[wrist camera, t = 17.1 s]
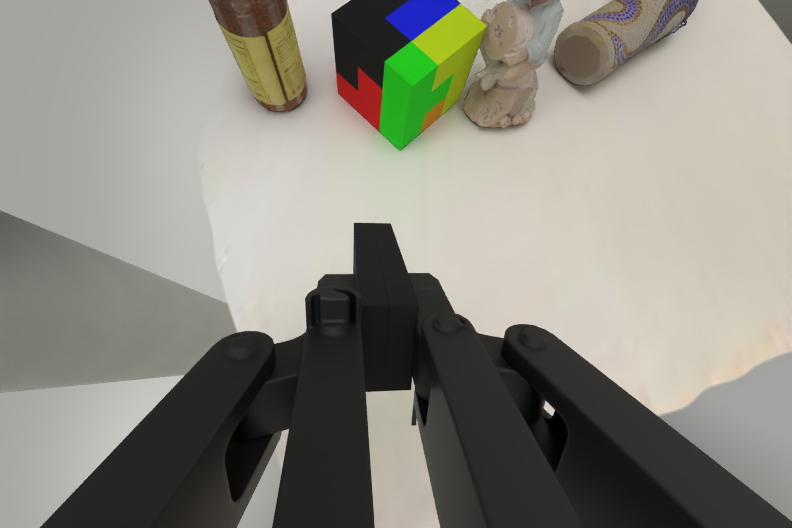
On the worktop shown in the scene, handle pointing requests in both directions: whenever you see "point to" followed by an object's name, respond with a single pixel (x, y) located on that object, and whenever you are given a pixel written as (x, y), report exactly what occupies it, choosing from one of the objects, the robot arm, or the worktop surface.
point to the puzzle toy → (404, 61)
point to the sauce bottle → (264, 49)
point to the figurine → (512, 61)
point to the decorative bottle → (616, 36)
